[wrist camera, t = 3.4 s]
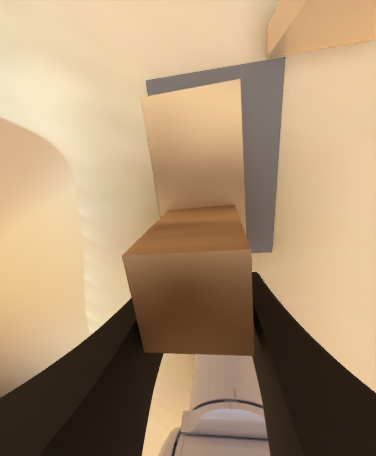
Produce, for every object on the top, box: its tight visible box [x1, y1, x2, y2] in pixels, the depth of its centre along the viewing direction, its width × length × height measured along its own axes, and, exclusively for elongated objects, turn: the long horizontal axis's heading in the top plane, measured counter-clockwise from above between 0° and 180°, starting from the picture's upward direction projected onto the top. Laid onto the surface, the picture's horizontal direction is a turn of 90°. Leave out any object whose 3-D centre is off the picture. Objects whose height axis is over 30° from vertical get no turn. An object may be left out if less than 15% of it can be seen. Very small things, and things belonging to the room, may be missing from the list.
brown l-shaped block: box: [122, 79, 254, 356], centre depth 8 cm, size 9×4×7 cm, turn 8°
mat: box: [146, 57, 285, 253], centre depth 16 cm, size 14×9×1 cm, turn 7°
